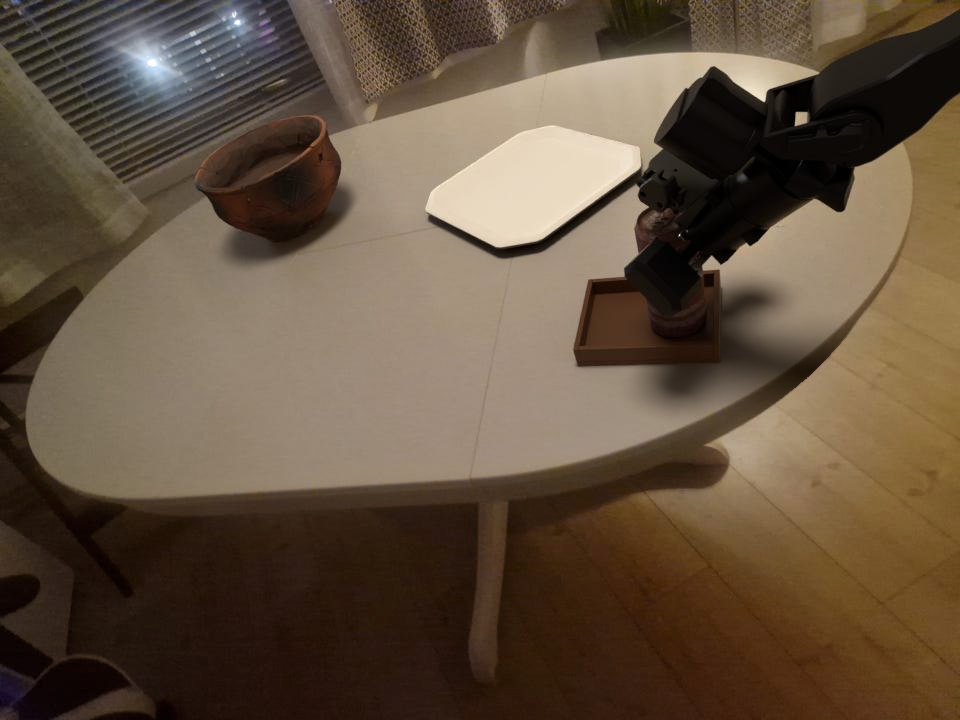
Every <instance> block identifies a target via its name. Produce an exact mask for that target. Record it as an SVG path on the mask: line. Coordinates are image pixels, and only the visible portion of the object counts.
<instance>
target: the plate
mask: <svg viewBox="0 0 960 720" xmlns="http://www.w3.org/2000/svg"><path fill="white" fill-rule="evenodd" d="M641 153H642V152H641V148H640V147H639V146H637V145H634V144H629V143H626V142H620V141H619V140H618V141H617V140H613V139H609V138H606V137H602V136H597V135H595V134H590V133H586V132H582V131H578V130H575V129H571V128H567V127H564V126H563V127H562V126H559V125H554V124H551V125H545V126H541V127H537V128H532V129H528V130H524V131H520V132H518V133H517V134H515V135H513V136H512V137H511V138H509V139H508V140H506V141H505V142H503V143H502V144H500V145H498V146H497V147H495V148H494V149H492V150H490V151H489V152H488V153H486V154H484V155H483V156H482V157H480V158H478V159H477V160H475V161H474V162H473V163H471V164H469V165H468V166H466V167H465V168H463V169H462V170H460V171H458V172H457V173H455V174H454V175H452V176H451V177H449V178H448V179H447V180H445V181H443V182H442V183H440V184H439V185H437V186H436V187H434V188H433V189H432V190H431V192H430V193H429V197H428V200H427V202H426V204H425V208H424V210H425V213H426V214H427V215H429V216H431V217H434V218H435V219H437V220H439V221H441V222H443V223H445V224H447V225H448V226H451V227H453V228H455V229H457V230H459V231H461V232H463V233H465V234H467V235H468V236H471V237H473V238H474V239H477V240H479V241H480V242H483V243H484V244H486V245H488V246H490V247H492V248H494V249H496V250H506V249H507V250H508V249H512V248H517V247H524V246H530V245H535V244H539V243H542V242H544V241H545V240H546V239H548V238H549V237H550V236H552V235H553V234H555V233H556V232H557V231H559V230H560V229H562V228H564V226H566V225H567V224H569V222H572V221H573V220H574V219H576V217H578V216H579V215H581V214H582V213H584V212H585V211H586V210H588V209H589V208H591V207H592V206H593V205H594V204H596V203H597V202H599V201H600V200H602V199H603V198H604V197H606V196H607V195H609V194H610V193H612V191H614V190H615V189H616V188H618V187H619V186H621V185H622V184H624V183H625V182H626V181H628V180H629V179H631V177H633V176H635V175H636V174H637V173H639V172H640V170H641V169H642V167H643V166H642V154H641Z"/></svg>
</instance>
